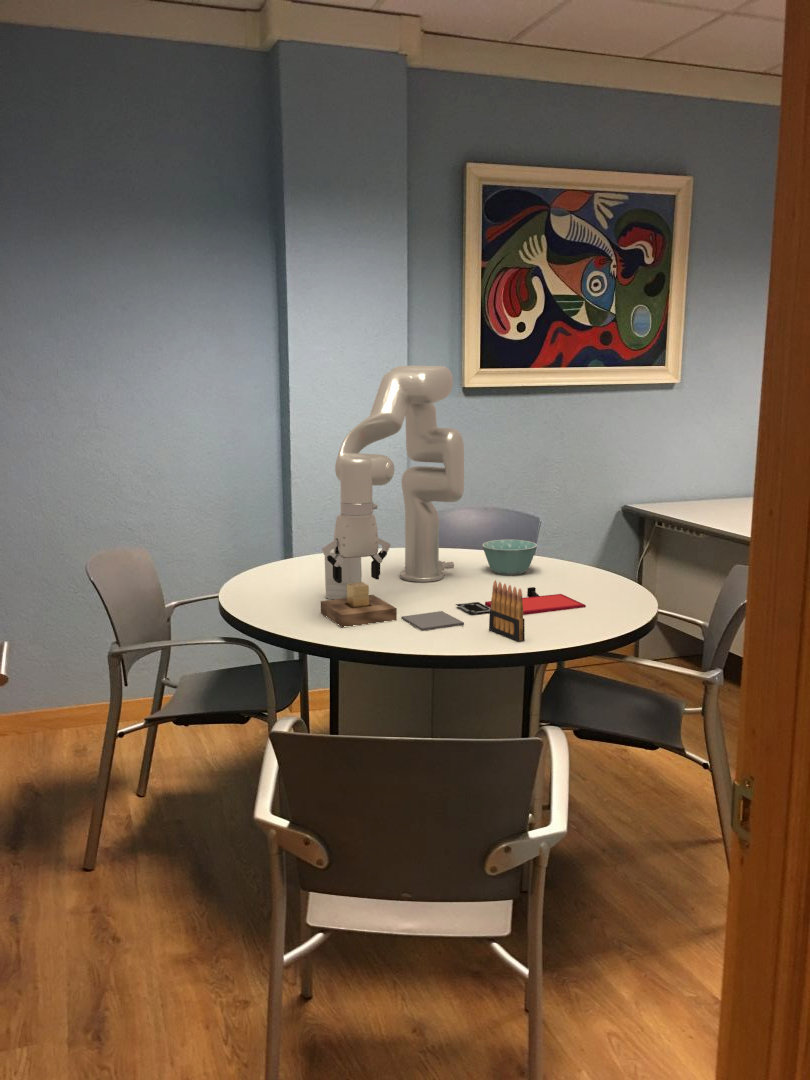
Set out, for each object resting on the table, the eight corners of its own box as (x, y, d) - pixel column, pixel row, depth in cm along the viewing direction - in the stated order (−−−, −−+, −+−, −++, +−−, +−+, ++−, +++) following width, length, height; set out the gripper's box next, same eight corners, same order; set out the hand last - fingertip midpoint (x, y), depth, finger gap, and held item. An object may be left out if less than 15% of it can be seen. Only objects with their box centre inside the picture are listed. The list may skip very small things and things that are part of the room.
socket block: (372, 606, 233) (372, 594, 233) (396, 620, 221) (396, 608, 220) (320, 612, 227) (320, 601, 227) (342, 627, 215) (341, 615, 214)
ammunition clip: (488, 630, 213) (489, 579, 210) (495, 629, 214) (495, 578, 211) (518, 642, 204) (519, 589, 201) (524, 641, 205) (526, 588, 202)
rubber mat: (441, 613, 227) (441, 611, 226) (463, 624, 217) (463, 622, 217) (401, 618, 222) (401, 616, 222) (422, 630, 212) (422, 628, 212)
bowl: (471, 572, 269) (471, 544, 267) (502, 563, 281) (502, 536, 279) (516, 580, 259) (516, 552, 257) (546, 571, 271) (547, 543, 269)
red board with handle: (451, 606, 234) (479, 622, 220) (452, 595, 233) (479, 611, 220) (553, 595, 246) (585, 610, 232) (553, 585, 245) (585, 599, 232)
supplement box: (362, 595, 244) (362, 548, 242) (349, 601, 238) (348, 553, 235) (338, 592, 247) (337, 545, 245) (324, 598, 241) (323, 551, 238)
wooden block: (362, 613, 227) (362, 582, 225) (369, 617, 223) (368, 585, 221) (347, 615, 225) (346, 583, 223) (353, 619, 221) (353, 587, 220)
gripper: (383, 505, 226) (383, 574, 229) (316, 509, 218) (317, 580, 221) (396, 509, 219) (396, 580, 222) (328, 513, 212) (328, 586, 215)
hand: (356, 580), depth 222 cm, fingers open, 9 cm apart
